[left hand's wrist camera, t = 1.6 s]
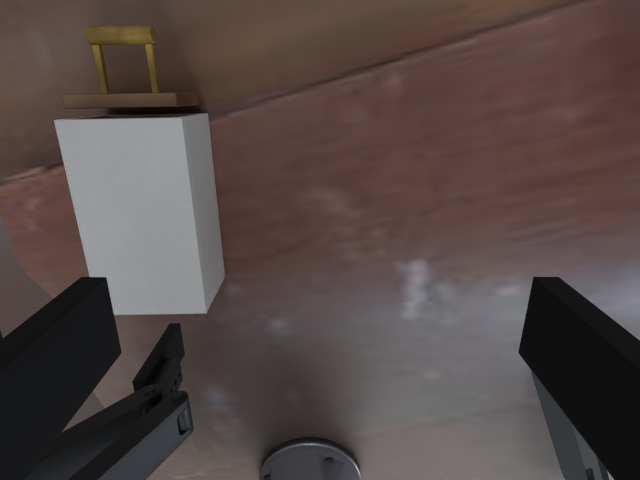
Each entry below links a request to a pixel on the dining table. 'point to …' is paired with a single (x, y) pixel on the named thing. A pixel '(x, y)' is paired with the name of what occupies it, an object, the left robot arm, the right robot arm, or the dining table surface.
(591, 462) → the handheld gaming console
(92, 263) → the cabinet
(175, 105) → the drawer
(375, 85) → the dining table surface
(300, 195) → the dining table surface
